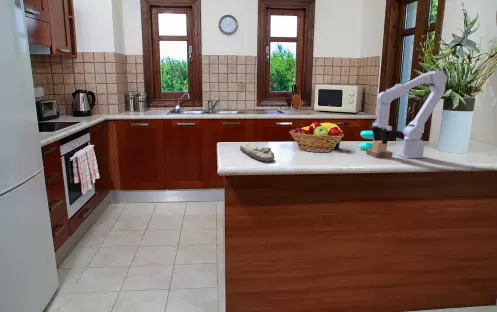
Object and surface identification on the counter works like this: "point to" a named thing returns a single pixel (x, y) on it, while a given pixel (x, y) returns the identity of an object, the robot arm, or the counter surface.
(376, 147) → the cube
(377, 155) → the slab
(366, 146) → the donuts
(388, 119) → the robot arm
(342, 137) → the coffee mug
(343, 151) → the counter surface
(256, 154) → the long grey stone
